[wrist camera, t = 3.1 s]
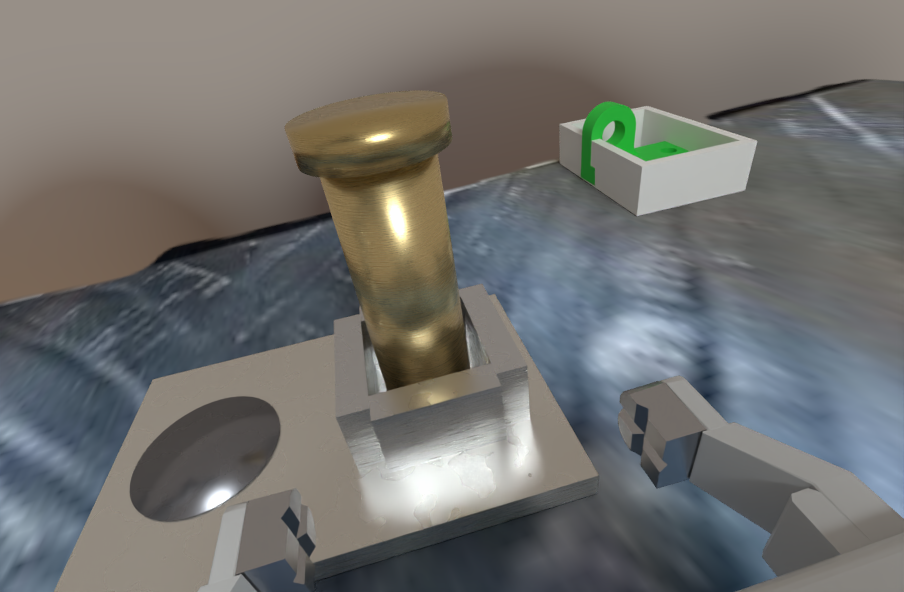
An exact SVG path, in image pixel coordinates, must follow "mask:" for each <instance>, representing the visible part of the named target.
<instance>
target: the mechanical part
mask: <svg viewBox="0 0 904 592" xmlns="http://www.w3.org/2000/svg"><path fill="white" fill-rule="evenodd" d="M612 121H614V123H615V130H614V133H613V135H612V136H611V137H610V138H609V139H608V140H607V141H605V142H607V143H609V144H611V145H614V146H616V147H618V148H620V149H622V150H624V151H626V152H628V153H630V154H632V155H634V156H636V157H638V158H640V159H642V160H644V161H650V160H655V159H659V158H664V157H668V156H673V155H677V154H681V153H686V152H690V151H688V150H686V149H683V148H681V147H678V146H676V145H673V144H671V143H668V142H666V141H663V142H658V143H654V144H650V145H646V146H641V147H637V148H634V142H635V132H636V118H635V115H634V113H633V111H632V110H631V109H630V108H629V107H627V106H624V105H621V104H618V103H614V102H604V103H601V104H600V105H598V106H596V107H595V108H594V109H593V110H592V111H591V112H590V113H589V115H588V116H587V118H586V120H585V122H584V125H583V130H582V152H581V178H583V179H585V180H586V181H588V182H590V183H591V184H593V185H595V168H594V167H592V166H591V143H592V140H597V139H601V140H603V139H602V135H603V131H604V129H605V128H606V126H607V125H608V124H609V123H611V122H612Z"/></svg>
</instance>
